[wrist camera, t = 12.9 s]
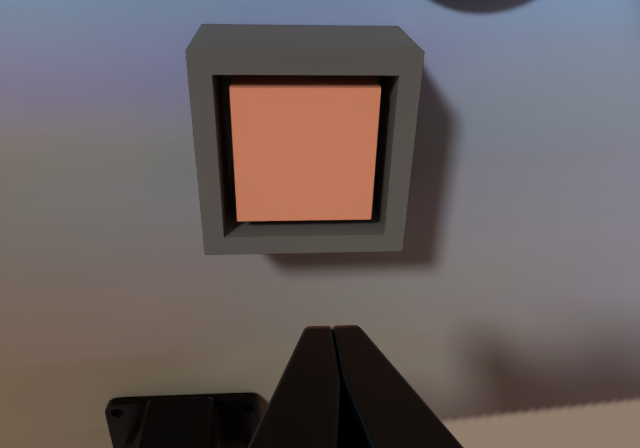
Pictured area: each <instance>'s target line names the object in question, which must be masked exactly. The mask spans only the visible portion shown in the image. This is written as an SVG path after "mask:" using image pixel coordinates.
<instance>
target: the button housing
mask: <svg viewBox="0 0 640 448" xmlns="http://www.w3.org/2000/svg"><path fill="white" fill-rule="evenodd" d="M424 53H425V52H424V51H423V50H422V49H421V48H420V47H419V46H418V45H417V44H416V43H415V42H414V41H413V40H412V39H411V38H410V37H409V36H408V35H407V34H406V33H405V32H404V31H403V30H402V29H401V28H400V27H399V26H332V25H234V24H201V26H200V28H199V29H198V31H197V33H196V34H195V36H194V37H193V39H192V41H191V42H190V44H189V46H188V47H187V49H186V61H187V71H188V82H189V93H190V103H191V114H192V124H193V135H194V146H195V156H196V167H197V177H198V188H199V199H200V209H201V220H202V230H203V241H204V252H205V255H227V254H281V253H335V252H389V251H402V249H403V240H404V231H405V222H406V213H407V205H408V196H409V187H410V178H411V169H412V160H413V151H414V142H415V133H416V124H417V115H418V106H419V97H420V88H421V79H422V71H423V62H424ZM232 75H374V77H375V78H376V80H377V82H378V84H379V85H380V87H381V96H380V109H379V122H378V135H377V149H376V162H375V175H374V188H373V201H372V214H371V219H367V220H298V221H237V209H236V192H235V175H234V158H233V141H232V124H231V107H230V90H229V87H230V83H231V79H232Z"/></svg>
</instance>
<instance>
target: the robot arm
mask: <svg viewBox="0 0 640 448" xmlns="http://www.w3.org/2000/svg"><path fill="white" fill-rule="evenodd" d="M246 404H250V405H246ZM117 409H120V410H117ZM105 415H106V419H107V423H108V427H109V432H110V436H111V440H112V444H113V448H463V447H462V445H461V444H460V443H459V442H458V441H457V440H456V438H455V437H454V436H453V435H452V434H451V433H450V431H449V430H448V429H447V428H446V427H445V425H444V424H443V423H442V422H441V421H440V420H439V419H438V417H437V416H436V415H435V414H434V413H433V412H432V410H431V409H430V408H429V407H428V406H427V405H426V403H425V402H424V401H423V400H422V399H421V398H420V396H419V395H418V394H417V393H416V392H415V391H414V389H413V388H412V387H411V386H410V385H409V384H408V382H407V381H406V380H405V379H404V378H403V377H402V375H401V374H400V373H399V372H398V371H397V370H396V368H395V367H394V366H393V365H392V364H391V363H390V361H389V360H388V359H387V358H386V357H385V356H384V354H383V353H382V352H381V351H380V350H379V349H378V347H377V346H376V345H375V344H374V343H373V342H372V340H371V339H370V338H369V337H368V336H367V335H366V333H365V332H364V331H363V330H362V329H361V328H360V327H359V326H357V325H340V326H335V327H333V329H331V327H329V326H308V327H306V328H305V329H304V331H303V333H302V335H301V337H300V339H299V341H298V343H297V345H296V347H295V350H294V352H293V354H292V356H291V358H290V360H289V362H288V364H287V366H286V368H285V370H284V373H283V375H282V377H281V379H280V381H279V383H278V385H277V387H276V389H275V391H274V394H273V396H272V398H271V400H270V402H269V404H268V406H267V408H266V410H265V412H264V415H263V417H262V419H261V421H260V401H259V398H258V397H257V396H256V395H254V394H252V393H234V394H206V395H179V396H151V397H123V398H113V399H112V400H110V401H109V402H108V404H107V407H106V410H105Z"/></svg>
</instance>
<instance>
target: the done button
mask: <svg viewBox="0 0 640 448" xmlns="http://www.w3.org/2000/svg"><path fill="white" fill-rule="evenodd" d="M229 90H230V107H231V124H232V141H233V158H234V175H235V192H236V209H237V221H298V220H367V219H371V214H372V201H373V188H374V175H375V162H376V149H377V135H378V122H379V109H380V96H381V87H380V85H379V84H378V82H377V80H376V78H375V77H374V75H232V79H231V83H230V87H229Z"/></svg>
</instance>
